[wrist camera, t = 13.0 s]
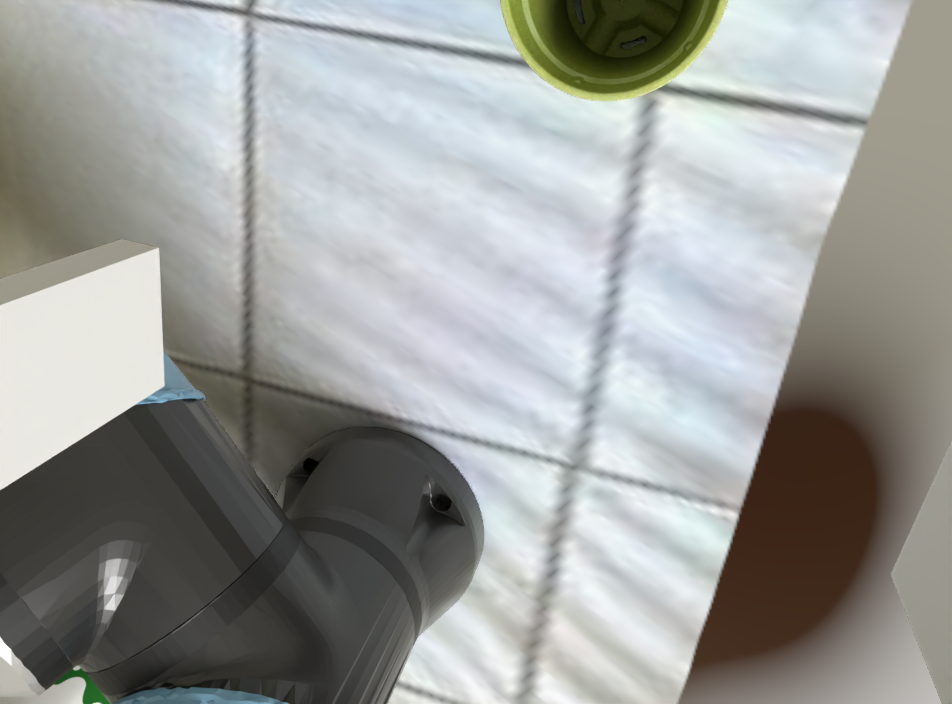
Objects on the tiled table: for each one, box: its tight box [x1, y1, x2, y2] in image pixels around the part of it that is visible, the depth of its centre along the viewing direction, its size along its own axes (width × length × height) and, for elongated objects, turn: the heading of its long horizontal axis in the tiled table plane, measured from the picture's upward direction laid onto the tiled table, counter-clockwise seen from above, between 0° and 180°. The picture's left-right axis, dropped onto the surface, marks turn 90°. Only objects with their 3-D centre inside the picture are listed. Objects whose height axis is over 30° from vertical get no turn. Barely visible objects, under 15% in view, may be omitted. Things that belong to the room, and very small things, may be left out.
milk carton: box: [0, 665, 110, 704], centre depth 56 cm, size 9×9×20 cm
